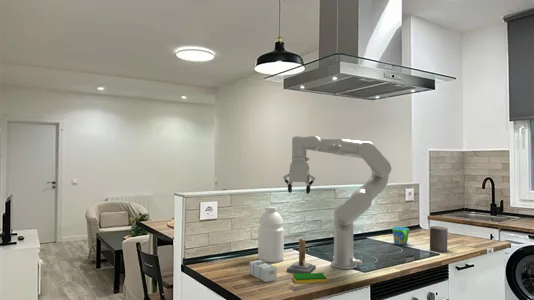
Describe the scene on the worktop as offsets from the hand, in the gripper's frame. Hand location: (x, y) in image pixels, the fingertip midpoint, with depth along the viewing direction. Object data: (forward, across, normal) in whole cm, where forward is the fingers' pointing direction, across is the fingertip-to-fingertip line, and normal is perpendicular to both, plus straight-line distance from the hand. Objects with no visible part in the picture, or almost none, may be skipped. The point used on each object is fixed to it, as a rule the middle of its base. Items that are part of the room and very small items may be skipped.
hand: (298, 193), depth 188 cm
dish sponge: (+37, -13, +22) cm, 45 cm away
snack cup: (+36, -45, -70) cm, 91 cm away
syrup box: (+34, +2, +31) cm, 46 cm away
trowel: (+35, -5, +9) cm, 36 cm away
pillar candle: (+36, -67, -63) cm, 99 cm away
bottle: (+36, +16, -1) cm, 40 cm away
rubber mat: (+36, -5, +10) cm, 38 cm away
